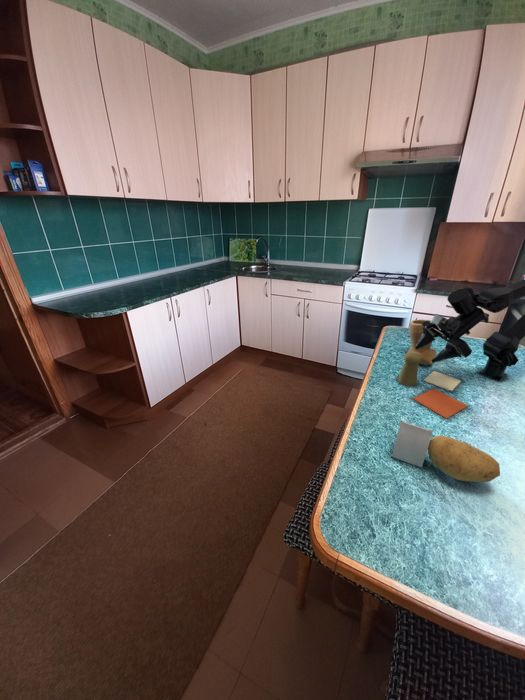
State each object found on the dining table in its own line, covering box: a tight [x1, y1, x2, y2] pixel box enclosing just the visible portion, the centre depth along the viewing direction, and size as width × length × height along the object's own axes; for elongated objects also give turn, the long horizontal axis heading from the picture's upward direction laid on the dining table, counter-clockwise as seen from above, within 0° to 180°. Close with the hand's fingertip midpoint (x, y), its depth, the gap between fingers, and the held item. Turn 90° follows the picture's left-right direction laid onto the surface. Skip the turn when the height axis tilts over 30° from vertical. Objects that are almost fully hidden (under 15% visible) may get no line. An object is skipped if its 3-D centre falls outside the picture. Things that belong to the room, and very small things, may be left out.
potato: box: [427, 434, 501, 483], centre depth 66 cm, size 10×14×8 cm
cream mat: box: [423, 370, 462, 393], centre depth 102 cm, size 9×9×1 cm
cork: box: [397, 351, 422, 387], centre depth 100 cm, size 6×6×11 cm
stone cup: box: [406, 319, 438, 366], centre depth 114 cm, size 15×12×15 cm
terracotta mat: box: [412, 387, 468, 420], centre depth 91 cm, size 11×11×1 cm
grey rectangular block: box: [391, 420, 433, 468], centre depth 70 cm, size 4×7×10 cm, turn 59°
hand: (423, 354), depth 98 cm, fingers open, 9 cm apart
